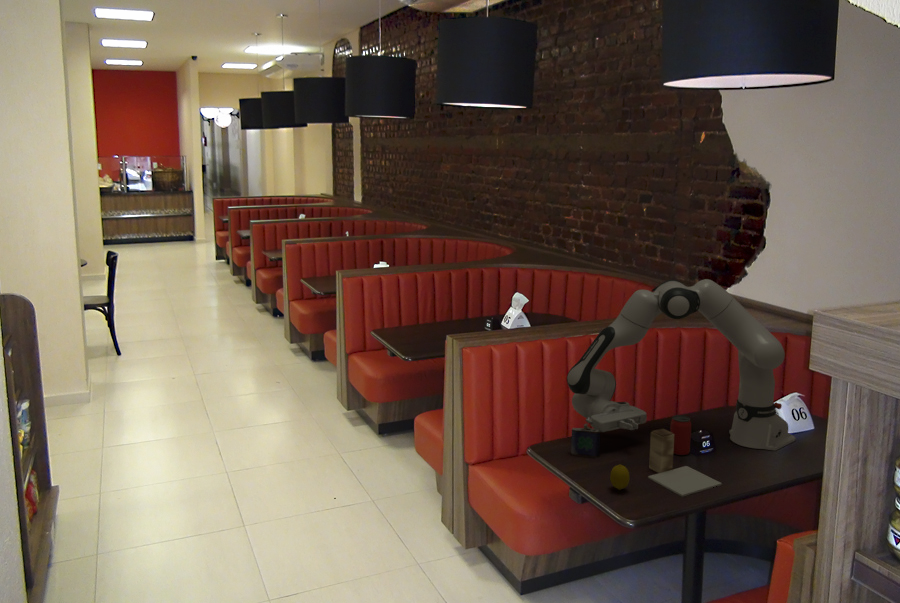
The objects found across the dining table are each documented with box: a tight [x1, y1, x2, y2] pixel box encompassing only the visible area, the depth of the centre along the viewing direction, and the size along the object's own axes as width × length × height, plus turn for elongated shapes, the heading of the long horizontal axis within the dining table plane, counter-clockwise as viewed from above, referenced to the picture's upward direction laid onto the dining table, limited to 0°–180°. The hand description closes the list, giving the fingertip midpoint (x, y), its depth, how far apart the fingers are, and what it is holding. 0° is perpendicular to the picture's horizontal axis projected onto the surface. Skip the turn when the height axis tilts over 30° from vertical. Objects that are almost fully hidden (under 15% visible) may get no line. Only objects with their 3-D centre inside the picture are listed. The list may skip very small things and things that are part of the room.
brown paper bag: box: [648, 428, 674, 474], centre depth 223 cm, size 5×5×12 cm
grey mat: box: [647, 465, 723, 498], centre depth 215 cm, size 16×14×1 cm
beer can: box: [669, 414, 692, 456], centre depth 235 cm, size 7×7×12 cm
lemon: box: [609, 464, 630, 491], centre depth 209 cm, size 6×6×8 cm
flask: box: [570, 423, 601, 458], centre depth 234 cm, size 9×3×11 cm, turn 76°
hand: (634, 427), depth 232 cm, fingers closed
